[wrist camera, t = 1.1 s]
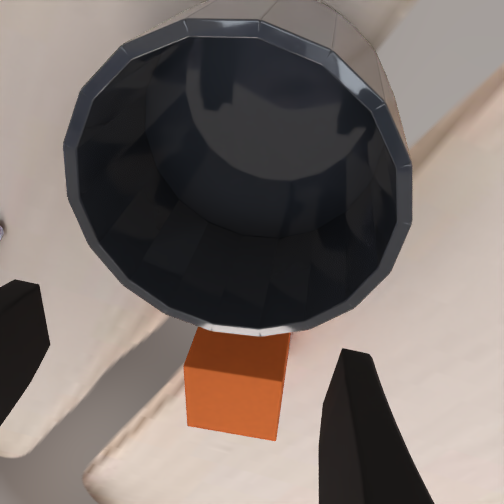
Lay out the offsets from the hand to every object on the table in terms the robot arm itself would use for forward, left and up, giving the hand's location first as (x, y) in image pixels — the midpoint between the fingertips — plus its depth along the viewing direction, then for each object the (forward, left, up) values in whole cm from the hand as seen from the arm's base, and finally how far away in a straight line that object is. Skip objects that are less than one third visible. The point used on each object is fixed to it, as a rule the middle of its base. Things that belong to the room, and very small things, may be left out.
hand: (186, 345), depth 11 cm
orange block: (-6, -5, -10) cm, 13 cm away
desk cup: (+2, +1, -10) cm, 10 cm away
